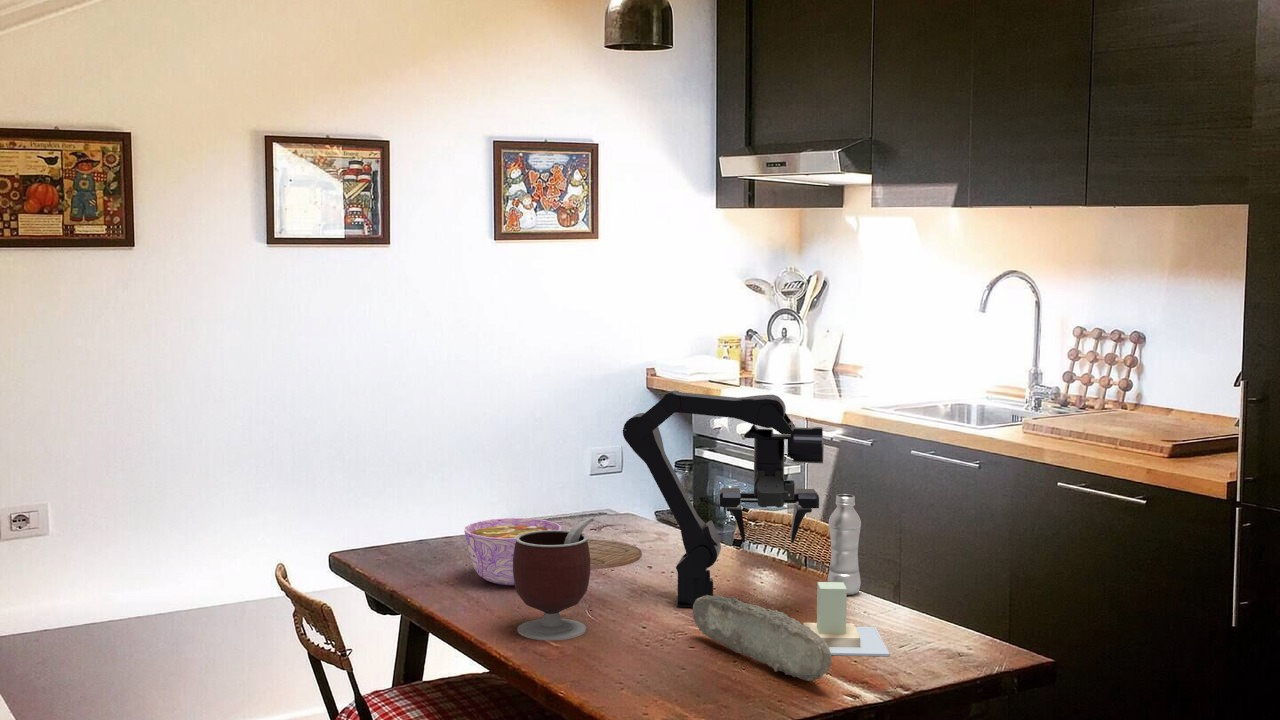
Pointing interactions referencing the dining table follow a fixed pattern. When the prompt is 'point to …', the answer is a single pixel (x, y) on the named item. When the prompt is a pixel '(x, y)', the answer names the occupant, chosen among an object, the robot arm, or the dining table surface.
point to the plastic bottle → (845, 543)
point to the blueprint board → (864, 644)
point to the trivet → (611, 554)
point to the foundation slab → (839, 636)
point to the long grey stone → (763, 636)
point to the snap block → (831, 607)
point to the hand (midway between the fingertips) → (767, 542)
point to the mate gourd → (552, 579)
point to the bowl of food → (499, 545)
